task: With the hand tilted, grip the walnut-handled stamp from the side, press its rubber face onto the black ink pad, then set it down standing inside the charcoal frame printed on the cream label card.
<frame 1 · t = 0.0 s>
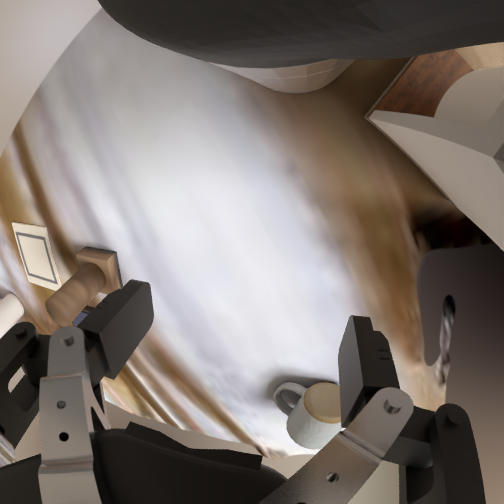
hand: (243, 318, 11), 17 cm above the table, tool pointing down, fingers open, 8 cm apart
ceramic mug: (311, 393, 39), on the table
drinking glass: (17, 302, 45), on the table
display case: (443, 118, 20), on the table
ink pad: (91, 327, 41), on the table
stamp: (104, 266, 35), on the table
label card: (36, 256, 37), on the table
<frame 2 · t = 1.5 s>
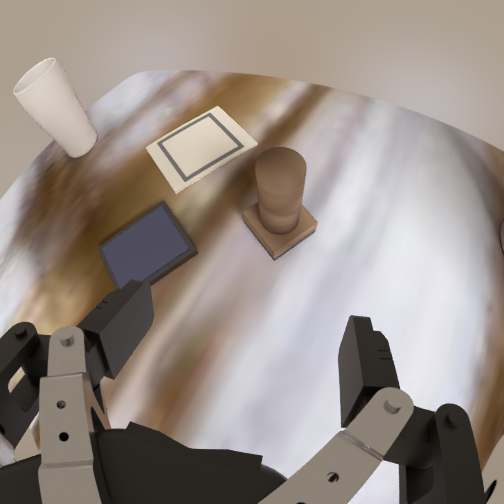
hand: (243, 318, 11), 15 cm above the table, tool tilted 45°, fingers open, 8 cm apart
drinking glass: (84, 146, 37), on the table
ink pad: (146, 252, 30), on the table
stamp: (279, 227, 30), on the table
label card: (198, 145, 34), on the table
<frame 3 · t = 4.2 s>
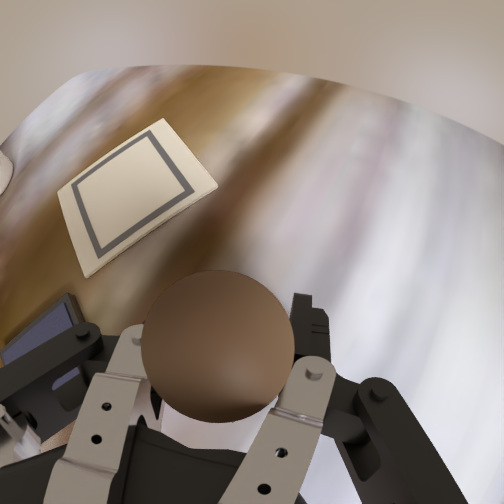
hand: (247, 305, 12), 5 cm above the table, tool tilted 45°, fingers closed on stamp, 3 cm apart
drinking glass: (0, 184, 23), on the table
ink pad: (51, 369, 16), on the table
stamp: (249, 354, 16), on the table, touching gripper
label card: (125, 189, 20), on the table
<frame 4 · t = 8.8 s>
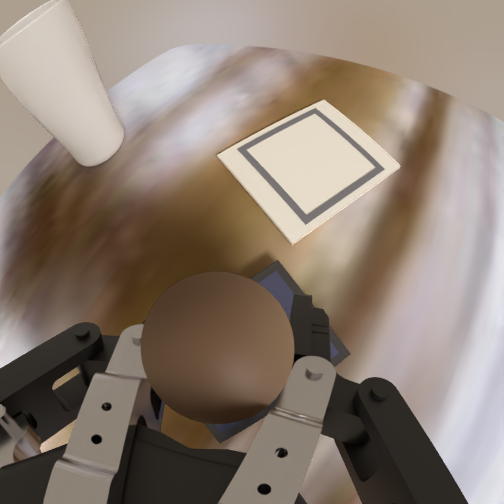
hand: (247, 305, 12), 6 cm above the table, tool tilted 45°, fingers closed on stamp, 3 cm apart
drinking glass: (102, 147, 24), on the table
ink pad: (250, 353, 17), on the table
stamp: (249, 355, 16), point 1 cm above the table, touching gripper, ink pad
label card: (311, 159, 21), on the table
when the fingers open (6 cm above the table, at t = 13.7 s): stamp stays where it is, resting on label card.
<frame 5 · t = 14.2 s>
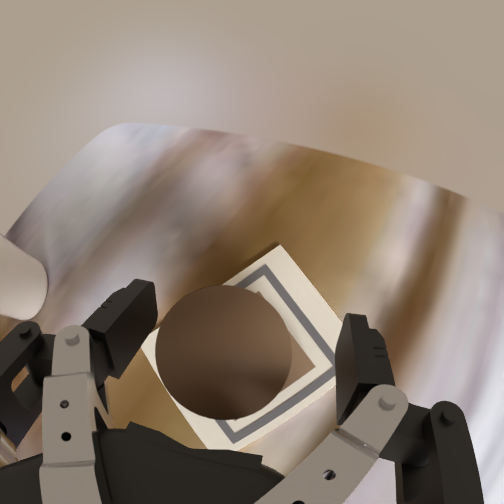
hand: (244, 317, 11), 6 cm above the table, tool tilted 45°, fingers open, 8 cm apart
drinking glass: (31, 291, 20), on the table
stamp: (250, 357, 17), resting on label card
label card: (250, 355, 17), on the table
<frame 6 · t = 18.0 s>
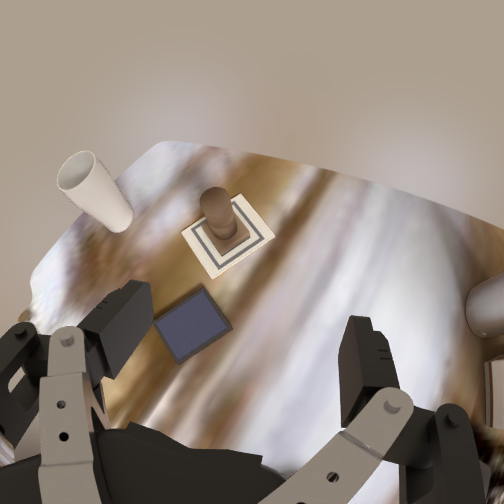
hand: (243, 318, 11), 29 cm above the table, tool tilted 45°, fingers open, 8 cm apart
drinking glass: (121, 220, 47), on the table
ink pad: (192, 326, 40), on the table
stamp: (226, 234, 44), resting on label card
label card: (227, 234, 44), on the table
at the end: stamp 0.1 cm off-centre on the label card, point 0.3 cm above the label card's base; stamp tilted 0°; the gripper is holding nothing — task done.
